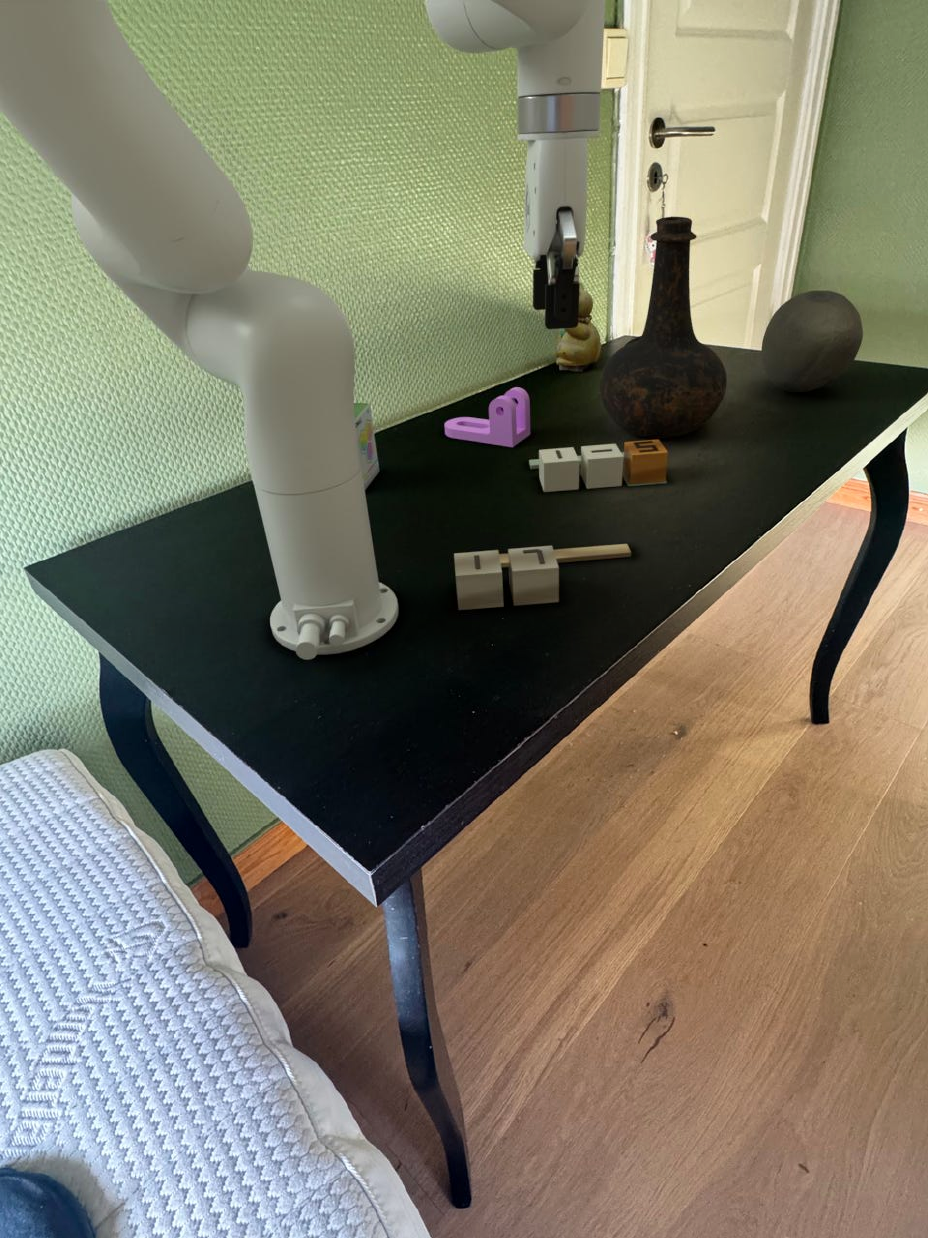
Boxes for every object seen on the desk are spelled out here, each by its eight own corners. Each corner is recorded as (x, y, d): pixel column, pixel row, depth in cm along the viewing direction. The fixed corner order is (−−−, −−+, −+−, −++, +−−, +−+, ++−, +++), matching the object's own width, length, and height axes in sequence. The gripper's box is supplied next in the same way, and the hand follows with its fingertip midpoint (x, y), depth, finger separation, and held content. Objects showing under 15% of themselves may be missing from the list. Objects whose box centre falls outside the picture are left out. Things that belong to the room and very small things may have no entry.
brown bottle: (679, 401, 123) (696, 204, 107) (747, 436, 108) (778, 215, 93) (577, 420, 119) (581, 218, 103) (634, 459, 104) (648, 232, 89)
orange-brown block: (665, 481, 97) (668, 451, 95) (630, 484, 97) (632, 454, 95) (656, 468, 101) (659, 438, 99) (622, 470, 101) (624, 441, 99)
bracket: (530, 434, 115) (529, 388, 111) (512, 447, 111) (511, 399, 107) (457, 423, 121) (454, 379, 117) (438, 435, 117) (434, 390, 113)
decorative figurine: (560, 359, 147) (560, 275, 139) (603, 359, 145) (606, 274, 137) (552, 373, 140) (551, 286, 131) (597, 374, 138) (600, 285, 129)
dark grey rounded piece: (751, 402, 120) (766, 301, 111) (759, 376, 130) (773, 282, 122) (850, 408, 115) (873, 303, 106) (849, 380, 125) (870, 282, 117)
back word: (670, 482, 97) (673, 452, 95) (538, 493, 97) (537, 463, 95) (651, 453, 105) (653, 424, 103) (529, 463, 105) (528, 435, 103)
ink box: (365, 492, 101) (350, 392, 94) (337, 492, 102) (319, 392, 94) (380, 471, 107) (367, 375, 99) (353, 471, 107) (338, 375, 100)
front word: (648, 594, 76) (651, 558, 73) (458, 610, 76) (455, 574, 73) (626, 548, 84) (628, 514, 82) (455, 562, 84) (452, 529, 82)
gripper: (508, 123, 77) (510, 304, 86) (528, 120, 62) (527, 338, 72) (582, 120, 77) (576, 300, 86) (619, 116, 62) (607, 334, 72)
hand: (554, 317), depth 79 cm, fingers open, 9 cm apart
